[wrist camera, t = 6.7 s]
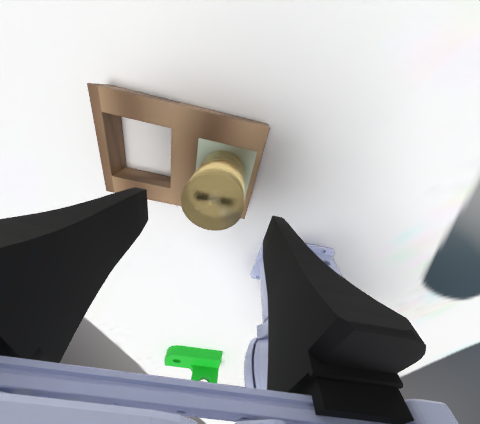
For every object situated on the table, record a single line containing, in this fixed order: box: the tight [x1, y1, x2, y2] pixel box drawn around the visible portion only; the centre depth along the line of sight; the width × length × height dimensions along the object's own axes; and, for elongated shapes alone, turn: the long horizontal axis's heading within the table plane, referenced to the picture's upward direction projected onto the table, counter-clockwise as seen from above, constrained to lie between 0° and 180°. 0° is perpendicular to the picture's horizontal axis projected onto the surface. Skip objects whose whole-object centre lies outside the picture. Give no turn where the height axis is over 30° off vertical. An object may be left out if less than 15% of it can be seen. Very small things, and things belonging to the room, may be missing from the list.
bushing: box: [181, 150, 245, 230], centre depth 14 cm, size 4×4×6 cm
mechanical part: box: [165, 346, 222, 383], centre depth 40 cm, size 12×6×8 cm, turn 79°
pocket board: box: [87, 83, 270, 219], centre depth 18 cm, size 14×9×3 cm, turn 78°
